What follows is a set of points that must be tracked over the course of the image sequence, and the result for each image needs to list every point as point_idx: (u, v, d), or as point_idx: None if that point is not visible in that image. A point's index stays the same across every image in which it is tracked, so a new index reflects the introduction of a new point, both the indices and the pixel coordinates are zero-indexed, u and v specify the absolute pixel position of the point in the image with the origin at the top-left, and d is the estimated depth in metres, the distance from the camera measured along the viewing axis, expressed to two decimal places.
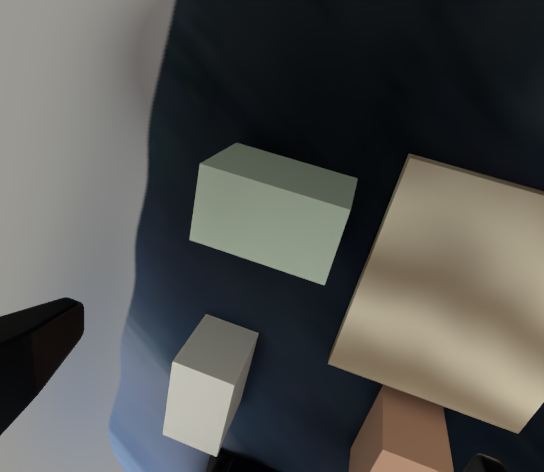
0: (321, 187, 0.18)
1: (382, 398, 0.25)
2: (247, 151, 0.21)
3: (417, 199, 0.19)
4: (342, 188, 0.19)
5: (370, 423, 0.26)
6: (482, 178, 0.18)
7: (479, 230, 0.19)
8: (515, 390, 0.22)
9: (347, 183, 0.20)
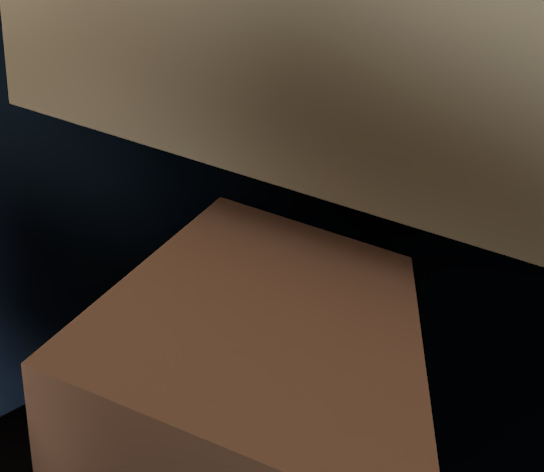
0: None
1: None
2: None
3: None
4: None
5: None
6: None
7: None
8: None
9: None
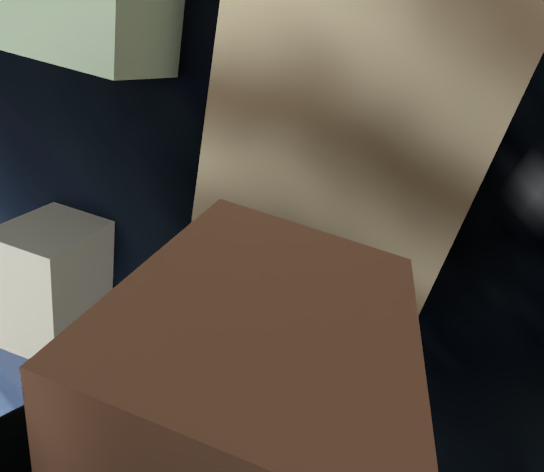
0: None
1: None
2: None
3: None
4: None
5: None
6: None
7: (329, 19, 0.15)
8: None
9: None
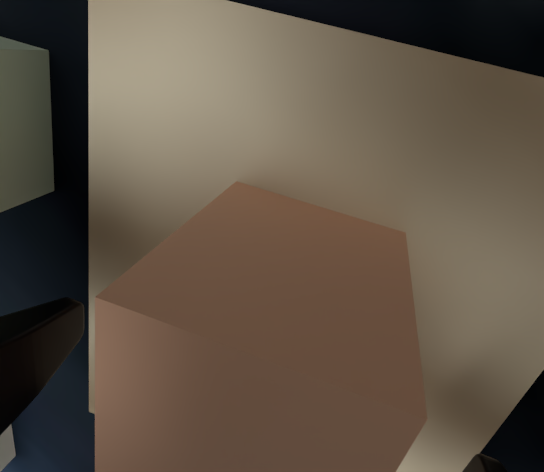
0: None
1: None
2: None
3: (131, 75, 0.09)
4: None
5: None
6: (247, 6, 0.08)
7: (265, 143, 0.08)
8: None
9: None
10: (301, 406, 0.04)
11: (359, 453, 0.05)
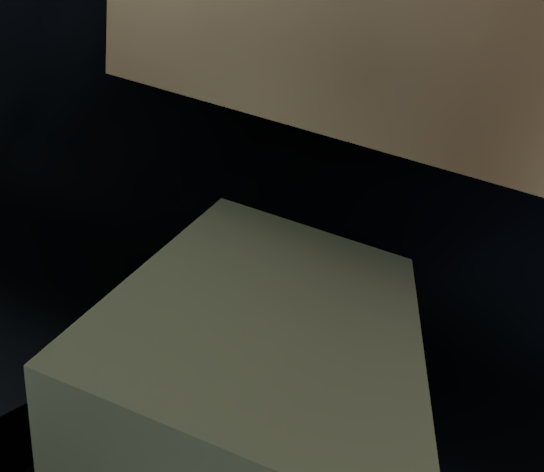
0: None
1: None
2: None
3: (218, 27, 0.06)
4: None
5: None
6: None
7: None
8: None
9: None
10: None
11: None
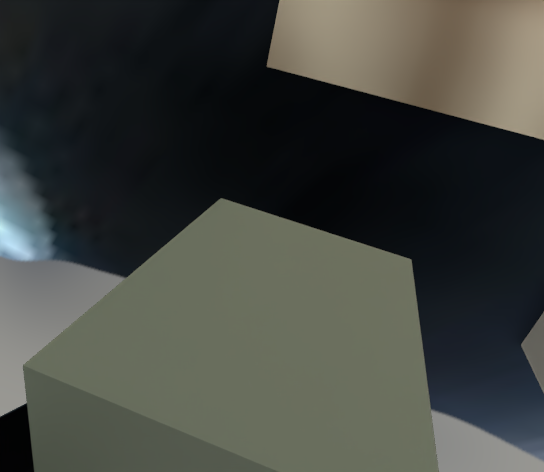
0: None
1: None
2: None
3: (319, 47, 0.14)
4: None
5: None
6: None
7: None
8: None
9: None
10: None
11: None
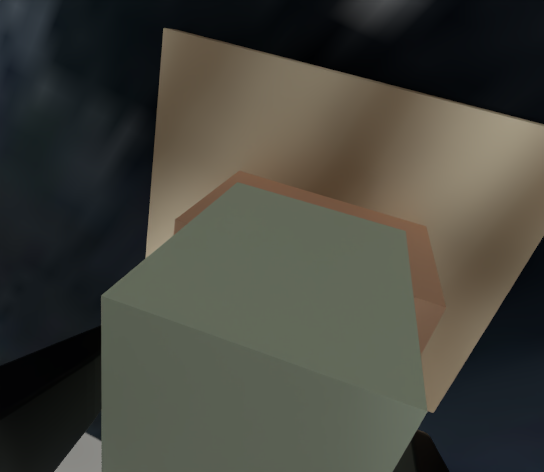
0: None
1: None
2: None
3: None
4: None
5: None
6: (148, 242, 0.17)
7: None
8: (473, 165, 0.12)
9: None
10: None
11: None
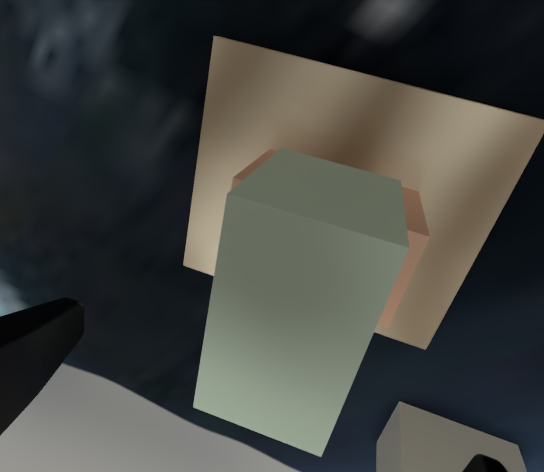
0: None
1: None
2: None
3: (216, 259, 0.21)
4: None
5: None
6: (191, 210, 0.21)
7: None
8: (454, 142, 0.16)
9: None
10: None
11: None
